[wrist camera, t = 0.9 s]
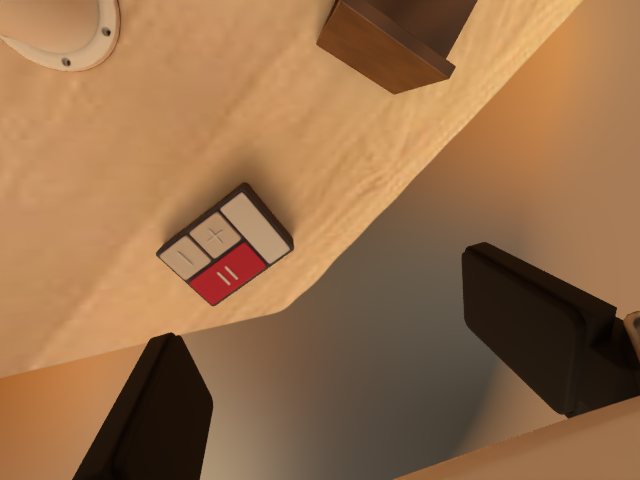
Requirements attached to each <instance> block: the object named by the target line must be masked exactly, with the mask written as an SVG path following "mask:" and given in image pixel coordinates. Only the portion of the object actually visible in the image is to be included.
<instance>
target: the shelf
mask: <svg viewBox="0 0 640 480" xmlns="http://www.w3.org/2000/svg"><path fill="white" fill-rule="evenodd" d="M476 2H477V0H335V2H334V4H333V6H332V9H331V11H330V13H329V16H328V18H327V20H326V23H325V25H324V27H323V29H322V32H321V34H320V36H319V39H318V41H317V43H316V44H317V45H318V46H320V47H321V48H323V49H324V50H326V51H327V52H329V53H331V54H332V55H334V56H335V57H337V58H338V59H340V60H341V61H343V62H345V63H346V64H348V65H349V66H351V67H352V68H354V69H355V70H357V71H358V72H360V73H362V74H363V75H365V76H366V77H368V78H369V79H371V80H372V81H374V82H376V83H377V84H379V85H380V86H382V87H383V88H385V89H386V90H388V91H389V92H391V93H393V94H397V93H401V92H404V91H408V90H411V89H415V88H418V87H422V86H425V85H429V84H432V83H436V82H439V81H443V80H446V79H449V78H450V76H451V74H452V73H453V71H454V69H455V66H454V65H453V64H452V63H450V62H449V61H448V60H446V58H447V56H448V54H449V52H450V50H451V49H452V47H453V45H454V43H455V41H456V39H457V37H458V36H459V34H460V32H461V30H462V28H463V26H464V25H465V23H466V21H467V19H468V17H469V15H470V13H471V12H472V10H473V8H474V6H475V4H476Z"/></svg>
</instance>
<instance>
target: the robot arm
mask: <svg viewBox="0 0 640 480" xmlns="http://www.w3.org/2000/svg"><path fill="white" fill-rule="evenodd" d="M119 29H120V14H119V7H118V3H117V0H0V37H1V38H2V39H3V40H4V41H5V42H6V43H7V44H8V45H9V46H10V47H11V48H12V49H14V50H15V51H16V52H18V53H19V54H20V55H22V56H24V57H25V58H27V59H29V60H31V61H32V62H34V63H37V64H40V65H42V66H45V67H47V68H51V69H55V70H59V71H68V72H76V71H84V70H87V69H91V68H93V67H95V66H97V65H99V64H100V63H102V62H103V61H104V60H105V59H106V58H107V57H108V56H109V55H110V54H111V52H112V50H113V49H114V47H115V45H116V42H117V39H118V36H119ZM109 31H111V34H110V36H109V35H108V32H109ZM70 61H71V65H69V62H70ZM462 277H463V299H464V319H465V322H466V324H467V326H468V328H469V329H470V330H471V331H472V332H473V333H475V335H476V336H477V337H478V338H480V339H481V340H482V341H483V342H484V343H485V344H486V345H487V346H488V347H489V348H490V349H491V350H492V351H493V352H494V353H495V354H496V355H497V356H498V357H499V358H500V359H501V360H502V361H503V362H504V363H505V364H506V365H508V366H509V367H510V368H511V369H512V370H513V371H514V372H515V373H516V374H517V375H518V376H519V377H520V378H521V379H522V380H523V381H524V382H525V383H526V384H527V385H528V386H529V387H530V388H531V389H532V390H533V391H534V392H535V393H536V394H537V395H539V396H540V397H541V398H542V399H543V400H544V401H545V402H546V403H547V404H548V405H549V406H550V407H551V408H552V409H553V410H554V411H556V412H557V413H559V414H562V415H563V414H564V415H565V416H566V417H567V418H568V419H567V420H563V421H561V422H558V423H555V424H552V425H549V426H546V427H543V428H540V429H537V430H534V431H532V432H528V433H526V434H523V435H520V436H517V437H514V438H511V439H508V440H505V441H502V442H499V443H496V444H493V445H490V446H488V447H485V448H482V449H479V450H476V451H473V452H470V453H467V454H465V455H462V456H459V457H456V458H453V459H450V460H447V461H444V462H442V463H439V464H436V465H433V466H430V467H427V468H424V469H422V470H419V471H416V472H413V473H410V474H407V475H404V476H401V477H399V478H396V479H393V480H640V311H636V312H633V313H631V314H628V315H627V316H626V317H625V319H624V321H623V320H621V319H619V318H617V317H616V316H615V315H616V310H617V307H615V306H613V305H611V304H609V303H607V302H605V301H603V300H600V299H599V298H597V297H594V296H593V295H591V294H589V293H587V292H585V291H583V290H581V289H579V288H577V287H575V286H573V285H571V284H569V283H567V282H565V281H563V280H561V279H559V278H557V277H555V276H553V275H550V274H549V273H547V272H545V271H543V270H541V269H539V268H537V267H535V266H533V265H531V264H529V263H527V262H525V261H523V260H521V259H519V258H517V257H515V256H513V255H511V254H509V253H507V252H505V251H503V250H501V249H499V248H497V247H495V246H493V245H491V244H489V243H486V242H482V243H479V244H475V245H472V246H468V247H467V248H466V250H465V252H464V253H463V254H462ZM212 411H213V400H212V397H211V394H210V393H209V390H208V388H207V387H206V384H205V382H204V380H203V378H202V376H201V374H200V373H199V370H198V368H197V366H196V364H195V362H194V360H193V359H192V357H191V355H190V353H189V351H188V349H187V347H186V345H185V343H184V341H183V339H182V337H181V336H180V335H177V336H175V334H173V333H167V334H164V335H160V336H157V337H154V338H151V339H150V340H149V342H148V344H147V346H146V347H145V349H144V351H143V353H142V355H141V356H140V358H139V360H138V362H137V364H136V365H135V368H134V369H133V371H132V373H131V374H130V376H129V378H128V380H127V382H126V384H125V385H124V387H123V389H122V391H121V393H120V394H119V396H118V398H117V400H116V402H115V403H114V405H113V407H112V409H111V411H110V412H109V414H108V416H107V418H106V420H105V421H104V423H103V425H102V427H101V429H100V430H99V432H98V434H97V436H96V438H95V440H94V442H93V443H92V445H91V447H90V448H89V450H88V452H87V454H86V456H85V457H84V459H83V461H82V463H81V465H80V466H79V468H78V470H77V472H76V474H75V476H74V477H73V479H72V480H200V475H201V469H202V464H203V459H204V454H205V449H206V443H207V438H208V432H209V427H210V422H211V416H212Z"/></svg>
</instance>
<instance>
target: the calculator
mask: <svg viewBox="0 0 640 480" xmlns="http://www.w3.org/2000/svg"><path fill="white" fill-rule="evenodd" d="M293 250H294V244H293V238H292V237H291V236H290V234H289V233H288V232H287V231H286V229H285V228H284V227H283V226H282V225H281V223H280V222H279V221H278V220H277V219H276V217H275V216H274V215H273V214H272V213H271V211H270V210H269V209H268V208H267V207H266V205H265V204H264V203H263V202H262V200H261V199H260V198H259V197H258V196H257V194H256V193H255V192H254V191H253V190H252V188H251V187H250V186H249V185H248V184H247V183H243V184H241V185H240V186H239V187H237V188H236V189H235V190H234V191H232V192H231V193H230V194H228V195H227V196H226V197H224V198H223V199H222V200H221V201H220V202H218V203H217V204H216V205H215V206H213V207H212V208H211V209H209V210H208V211H207V212H205V213H204V214H203V215H201V216H200V217H199V218H198V219H196V220H195V221H194V222H192V223H191V224H190V225H188V226H187V227H186V228H185V229H183V230H182V231H181V232H179V233H178V234H177V235H175V236H174V237H173V238H171V239H170V240H169V241H168V242H166V243H165V244H164V245H163V246H162V247H161V248H160V249H159V250H158V251H157V253H156V255H157V256H158V257H159V258H160V259H161V260H162V261H163V262H164V263H165V264H166V265H167V266H168V267H170V268H171V269H172V270H173V271H174V272H175V273H176V274H177V275H178V276H179V277H180V278H182V279H183V280H184V281H185V282H186V283H187V284H188V285H189V286H190V287H191V288H193V289H194V290H195V291H196V292H197V293H198V294H199V295H200V296H201V297H202V298H203V299H205V300H206V301H207V302H208V303H209V304H210V305H211V306H216V305H217V304H218V303H220V302H221V301H223V300H224V299H225V298H227V297H228V296H230V295H231V294H232V293H234V292H235V291H237V290H238V289H239V288H241V287H242V286H244V285H245V284H246V283H248V282H249V281H251V280H252V279H254V278H255V277H256V276H258V275H259V274H261V273H262V272H263V271H265V270H266V269H268V268H269V267H270V266H272V265H273V264H275V263H276V262H277V261H279V260H280V259H282V258H283V257H284V256H286V255H287V254H289V253H290V252H291V251H293Z"/></svg>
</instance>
